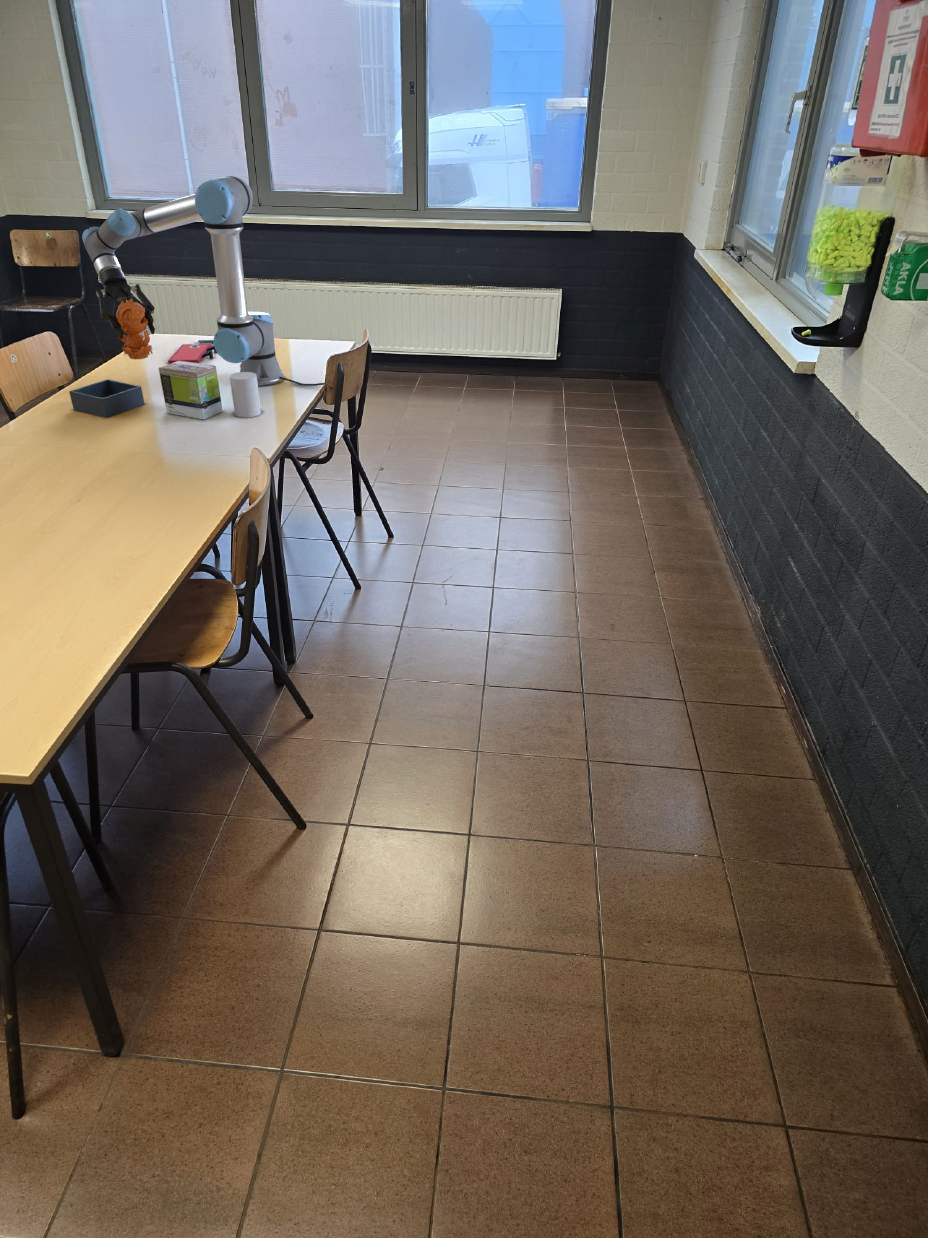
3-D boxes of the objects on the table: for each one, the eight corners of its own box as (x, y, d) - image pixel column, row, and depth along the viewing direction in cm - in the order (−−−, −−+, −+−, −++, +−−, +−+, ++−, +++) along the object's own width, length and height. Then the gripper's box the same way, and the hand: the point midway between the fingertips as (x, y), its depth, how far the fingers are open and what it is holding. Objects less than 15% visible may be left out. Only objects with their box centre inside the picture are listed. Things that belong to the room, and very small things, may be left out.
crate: (144, 404, 273) (141, 386, 270) (107, 417, 262) (102, 398, 259) (111, 396, 280) (107, 378, 276) (73, 409, 268) (68, 391, 265)
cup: (264, 409, 270) (259, 372, 264) (256, 417, 263) (251, 379, 257) (239, 408, 271) (234, 371, 264) (231, 416, 264) (225, 378, 258)
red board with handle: (224, 341, 339) (187, 342, 339) (223, 334, 338) (186, 335, 337) (208, 363, 314) (168, 364, 314) (207, 355, 313) (166, 356, 312)
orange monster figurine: (163, 354, 278) (153, 297, 268) (143, 362, 269) (132, 304, 260) (135, 350, 281) (124, 294, 271) (114, 359, 272) (102, 301, 263)
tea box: (224, 411, 268) (217, 364, 260) (203, 420, 261) (195, 373, 253) (186, 404, 274) (179, 358, 266) (165, 413, 266) (156, 366, 258)
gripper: (143, 277, 280) (169, 335, 278) (74, 285, 268) (101, 345, 266) (145, 262, 273) (172, 322, 271) (75, 270, 262) (103, 332, 260)
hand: (137, 333), depth 269 cm, fingers closed on orange monster figurine, 9 cm apart
